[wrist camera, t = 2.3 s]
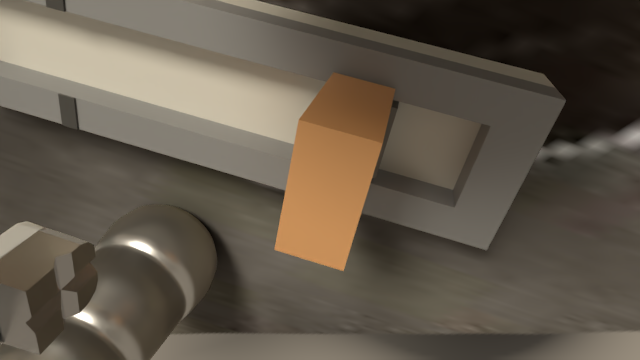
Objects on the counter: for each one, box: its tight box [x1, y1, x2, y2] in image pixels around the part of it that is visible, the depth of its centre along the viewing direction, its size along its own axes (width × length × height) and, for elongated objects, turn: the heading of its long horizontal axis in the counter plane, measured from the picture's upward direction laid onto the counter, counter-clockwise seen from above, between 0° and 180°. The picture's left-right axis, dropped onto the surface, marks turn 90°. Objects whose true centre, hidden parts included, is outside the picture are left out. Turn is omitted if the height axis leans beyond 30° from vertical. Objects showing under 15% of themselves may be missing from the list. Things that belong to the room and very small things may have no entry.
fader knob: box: [274, 72, 399, 271], centre depth 16 cm, size 3×5×7 cm, turn 168°
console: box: [0, 0, 566, 250], centre depth 19 cm, size 28×7×4 cm, turn 78°
